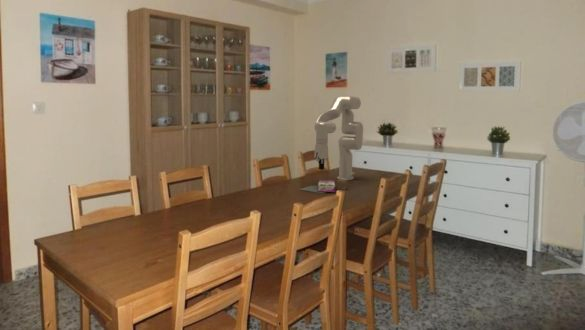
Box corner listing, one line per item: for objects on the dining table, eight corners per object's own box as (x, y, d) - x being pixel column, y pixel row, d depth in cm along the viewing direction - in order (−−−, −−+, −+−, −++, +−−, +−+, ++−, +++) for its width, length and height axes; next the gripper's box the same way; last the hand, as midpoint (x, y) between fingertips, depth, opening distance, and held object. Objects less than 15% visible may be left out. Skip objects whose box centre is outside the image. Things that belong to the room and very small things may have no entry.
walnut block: (338, 187, 297) (338, 179, 296) (347, 188, 295) (347, 179, 294) (335, 189, 292) (335, 180, 291) (344, 190, 289) (344, 181, 288)
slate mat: (312, 186, 302) (312, 185, 301) (334, 189, 291) (334, 188, 291) (299, 190, 290) (299, 189, 290) (322, 193, 279) (322, 192, 279)
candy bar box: (318, 186, 297) (317, 191, 281) (318, 179, 297) (317, 184, 280) (334, 187, 296) (335, 192, 280) (335, 179, 296) (335, 184, 280)
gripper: (323, 140, 297) (323, 167, 300) (310, 142, 286) (310, 170, 288) (332, 141, 293) (332, 168, 295) (320, 142, 281) (319, 171, 284)
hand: (321, 169), depth 292 cm, fingers closed
